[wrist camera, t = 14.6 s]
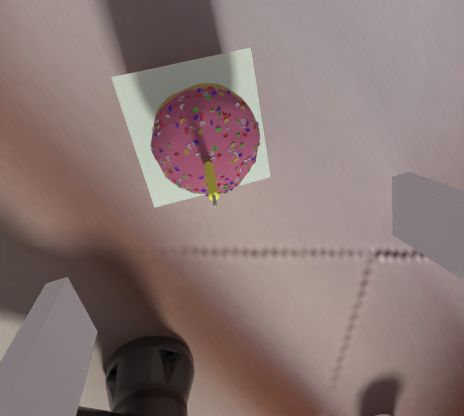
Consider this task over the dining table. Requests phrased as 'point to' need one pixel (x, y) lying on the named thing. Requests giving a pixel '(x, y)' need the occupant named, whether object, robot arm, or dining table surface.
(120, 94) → the tower top
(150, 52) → the dining table surface
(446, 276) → the dining table surface
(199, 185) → the cupcake
